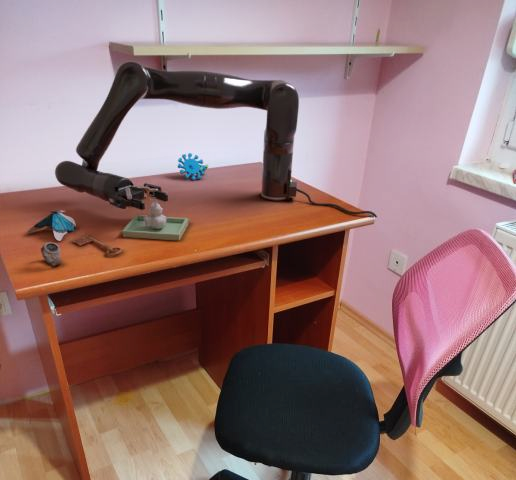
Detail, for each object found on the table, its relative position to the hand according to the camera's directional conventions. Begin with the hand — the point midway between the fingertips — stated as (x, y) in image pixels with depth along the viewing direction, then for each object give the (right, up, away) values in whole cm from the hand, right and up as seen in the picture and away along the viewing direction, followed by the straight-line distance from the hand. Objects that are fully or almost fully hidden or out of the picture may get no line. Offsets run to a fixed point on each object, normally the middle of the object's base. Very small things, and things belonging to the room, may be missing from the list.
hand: (155, 201), depth 126 cm
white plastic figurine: (-1, -6, +5) cm, 8 cm away
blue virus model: (+4, +22, +45) cm, 50 cm away
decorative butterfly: (-27, -8, +2) cm, 28 cm away
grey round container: (-21, -18, -13) cm, 31 cm away
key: (-13, -13, -6) cm, 20 cm away
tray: (-1, -6, +5) cm, 8 cm away
